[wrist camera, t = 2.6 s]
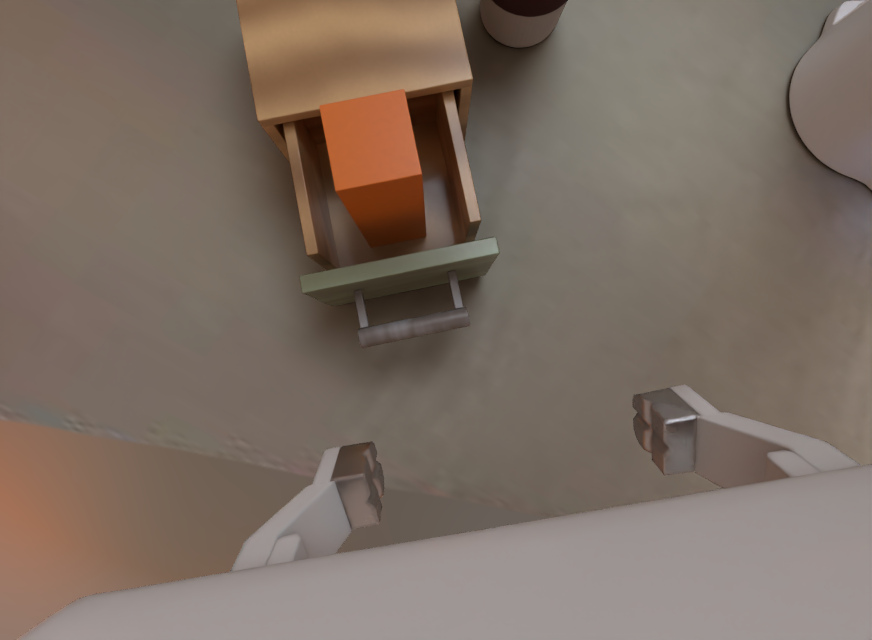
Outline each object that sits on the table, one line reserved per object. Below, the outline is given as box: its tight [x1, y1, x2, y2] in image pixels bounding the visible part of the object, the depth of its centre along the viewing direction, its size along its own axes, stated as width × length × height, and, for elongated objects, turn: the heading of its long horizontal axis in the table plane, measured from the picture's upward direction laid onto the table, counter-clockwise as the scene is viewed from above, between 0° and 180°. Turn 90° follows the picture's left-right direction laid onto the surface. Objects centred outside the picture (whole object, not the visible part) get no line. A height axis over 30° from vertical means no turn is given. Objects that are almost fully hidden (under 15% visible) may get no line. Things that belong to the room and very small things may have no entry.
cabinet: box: [236, 0, 473, 162], centre depth 32 cm, size 16×15×10 cm
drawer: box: [283, 90, 500, 348], centre depth 31 cm, size 19×13×8 cm
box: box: [319, 89, 427, 248], centre depth 28 cm, size 5×5×12 cm
